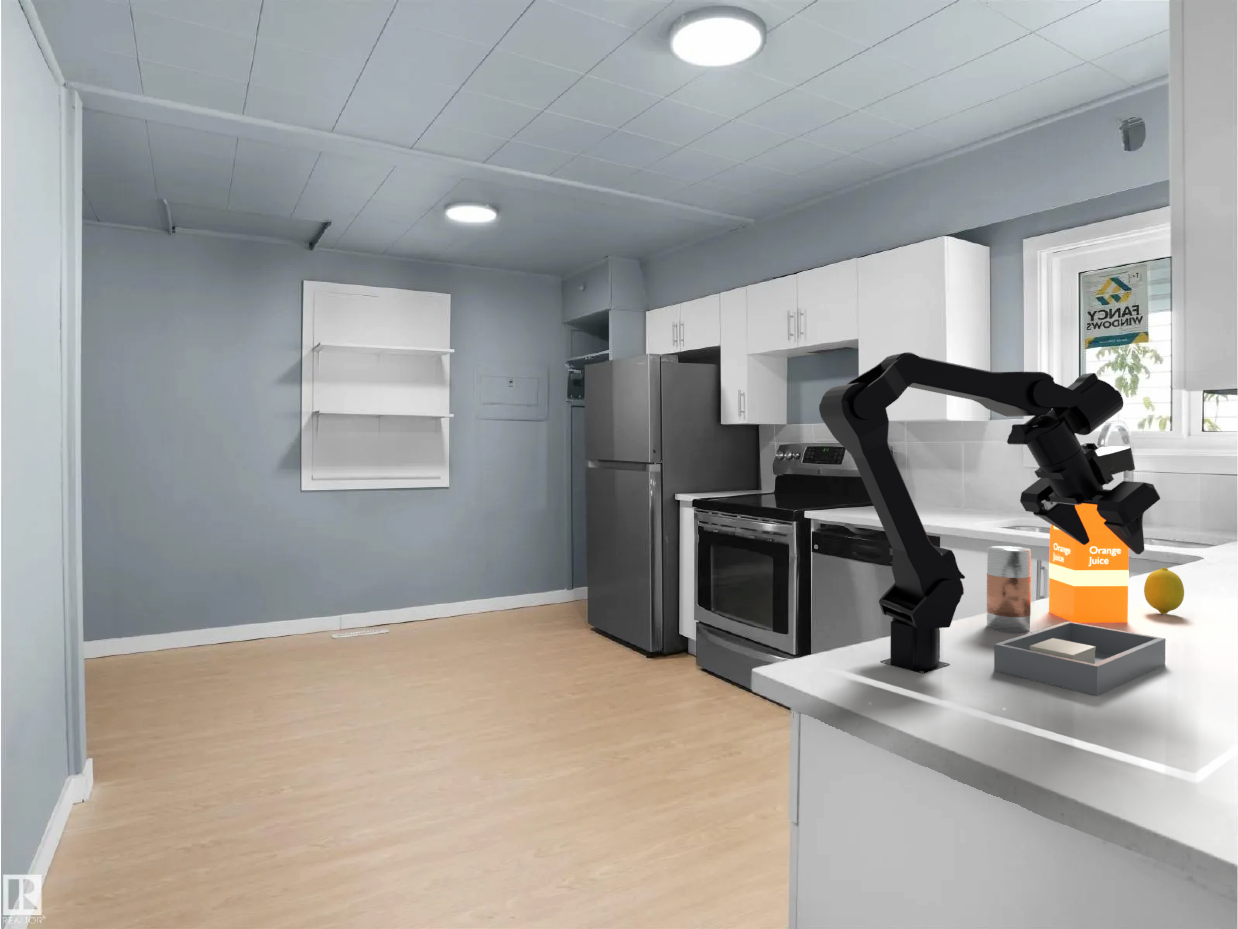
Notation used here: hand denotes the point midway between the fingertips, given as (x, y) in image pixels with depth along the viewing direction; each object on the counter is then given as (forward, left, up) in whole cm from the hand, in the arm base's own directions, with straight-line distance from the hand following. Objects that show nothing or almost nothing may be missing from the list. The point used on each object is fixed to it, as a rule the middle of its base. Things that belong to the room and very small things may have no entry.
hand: (1112, 547), depth 106 cm
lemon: (+33, +5, -15) cm, 37 cm away
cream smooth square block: (-17, -1, -14) cm, 22 cm away
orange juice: (+21, +12, -15) cm, 29 cm away
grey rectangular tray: (-12, -1, -15) cm, 19 cm away
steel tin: (+1, +15, -15) cm, 21 cm away
